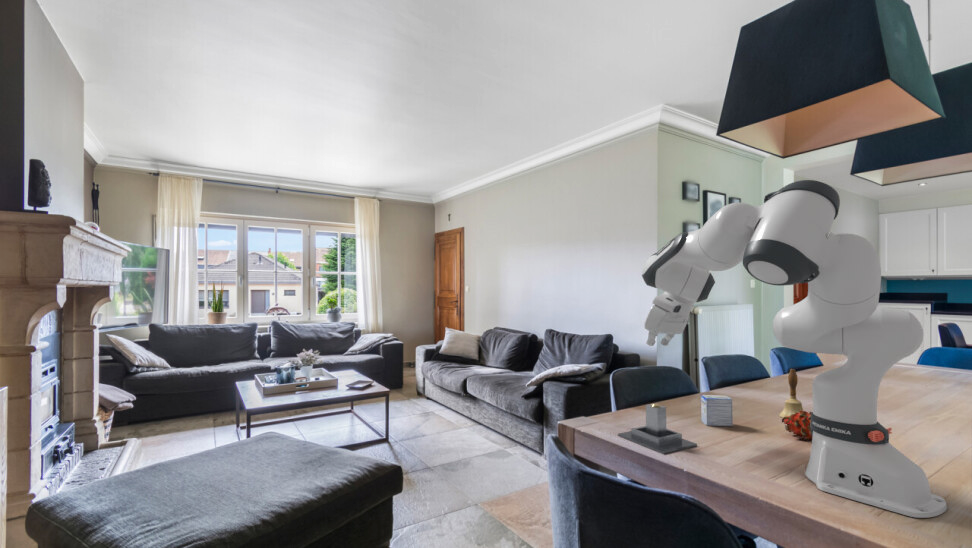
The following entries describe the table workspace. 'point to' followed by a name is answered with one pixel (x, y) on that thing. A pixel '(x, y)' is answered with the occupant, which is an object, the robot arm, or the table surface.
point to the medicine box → (716, 410)
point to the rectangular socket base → (658, 440)
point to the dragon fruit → (799, 424)
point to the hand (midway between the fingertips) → (656, 344)
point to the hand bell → (792, 397)
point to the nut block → (656, 420)
